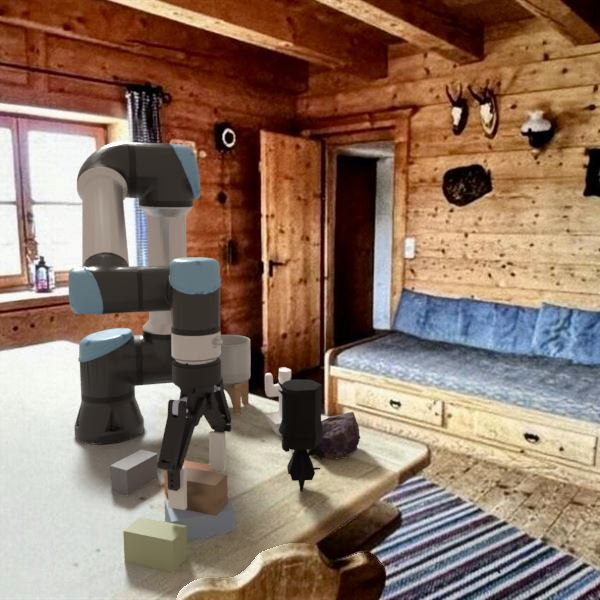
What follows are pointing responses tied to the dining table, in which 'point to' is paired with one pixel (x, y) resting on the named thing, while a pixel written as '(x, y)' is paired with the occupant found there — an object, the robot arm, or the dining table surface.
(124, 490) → the charcoal block
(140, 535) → the olive block
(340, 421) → the rock
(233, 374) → the planter
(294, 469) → the toy
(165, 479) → the terracotta block
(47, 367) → the dining table surface
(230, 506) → the slate slab
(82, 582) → the dining table surface
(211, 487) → the walnut block
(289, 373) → the figurine
